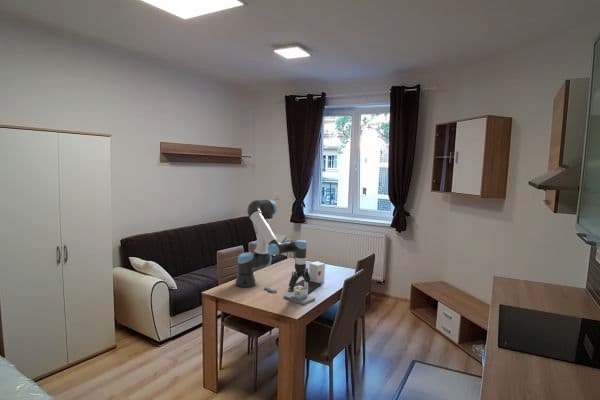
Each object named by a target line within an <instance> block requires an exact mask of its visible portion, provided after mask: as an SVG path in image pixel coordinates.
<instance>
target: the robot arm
mask: <svg viewBox="0 0 600 400" xmlns="http://www.w3.org/2000/svg"><path fill="white" fill-rule="evenodd" d="M277 211H278V207H277V204H276V202H275V201H274V200H272V199H256V200H255V199H254V200H253V201H251V202H249V204H248V206H247V211H246V212H247V216H248V217H249V219H250V221H253V223H254V225H255V226H256V228H257V238H256V248H255V249H254V250H253V252H250V251H249V252H243V253H240V254H239V255H238V257H237V276H236V279H235V283H234V284H235V286H236V287H237V288H251V287H254V286H256V283H257V281H256V279H255V275H254V270H257V269H263V268H264V269H265V268H266V267H269V266H270V265H271V263H272V259H273V258H272V256H277V255H280V254H281V255H282V254H287V253H294V269H295V271H292V273H291V277H290V280H289V284H288V288H289V287H291V291H290V293H291V296H293V297H295V287H294V286H295V284H296V283H298V280H299V279H300V278H303V280H305V281H306V282H304V287H306V288H308V282H310V281H309V280H311V279H310V276H309V268H307V249H308V248H307V241H306V240H304V239H296V240H294V241H293V240H292V239H286V240H284V241H281V242H280V240H279V239H278V238H277V237H276V234H274V232H273V231H272V228H271V220H273V218H274V215H276V213H277Z"/></svg>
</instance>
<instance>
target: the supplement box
mask: <svg viewBox="0 0 600 400" xmlns="http://www.w3.org/2000/svg"><path fill="white" fill-rule="evenodd" d="M325 268H326V264H325V263H324V262H320V261H318V260H317V261H313V262H309V267H308V273H309V276H310V279H311V280H309V281H312V282H317V283H321V284H322V283H324V282H325V274H326V272H325Z"/></svg>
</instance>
